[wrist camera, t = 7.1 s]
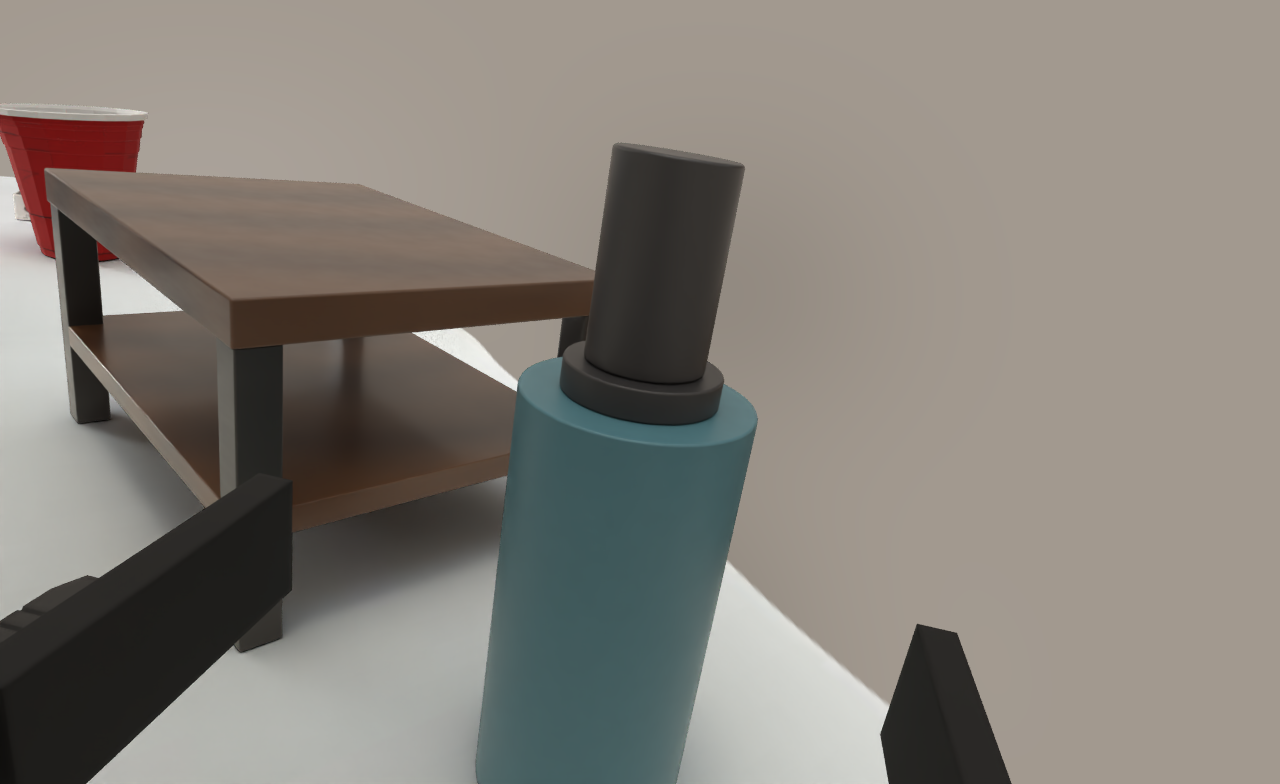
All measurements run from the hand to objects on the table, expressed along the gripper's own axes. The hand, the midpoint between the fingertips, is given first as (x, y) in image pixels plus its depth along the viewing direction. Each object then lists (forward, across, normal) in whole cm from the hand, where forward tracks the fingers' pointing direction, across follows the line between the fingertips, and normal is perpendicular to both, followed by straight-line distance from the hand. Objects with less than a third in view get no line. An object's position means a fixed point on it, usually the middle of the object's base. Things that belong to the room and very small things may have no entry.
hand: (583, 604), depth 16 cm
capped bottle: (+5, 0, -9) cm, 10 cm away
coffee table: (+18, -16, -9) cm, 26 cm away
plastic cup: (+44, -53, -9) cm, 70 cm away
